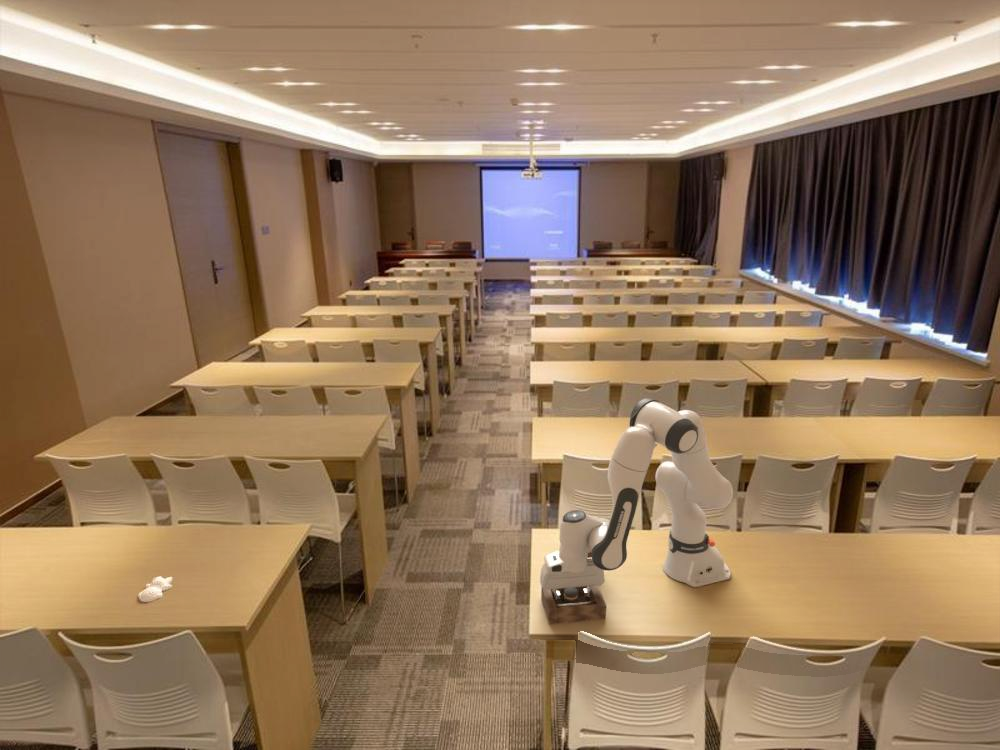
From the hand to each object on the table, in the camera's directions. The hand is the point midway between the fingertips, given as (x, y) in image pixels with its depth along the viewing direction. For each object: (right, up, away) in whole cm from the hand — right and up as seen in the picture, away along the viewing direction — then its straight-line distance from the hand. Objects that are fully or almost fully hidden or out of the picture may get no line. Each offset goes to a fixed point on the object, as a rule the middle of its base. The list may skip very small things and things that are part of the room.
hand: (571, 596), depth 193 cm
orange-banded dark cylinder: (0, -3, +1) cm, 3 cm away
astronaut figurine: (-138, -2, +10) cm, 138 cm away
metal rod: (0, -2, -4) cm, 4 cm away
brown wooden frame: (0, -4, -1) cm, 4 cm away
